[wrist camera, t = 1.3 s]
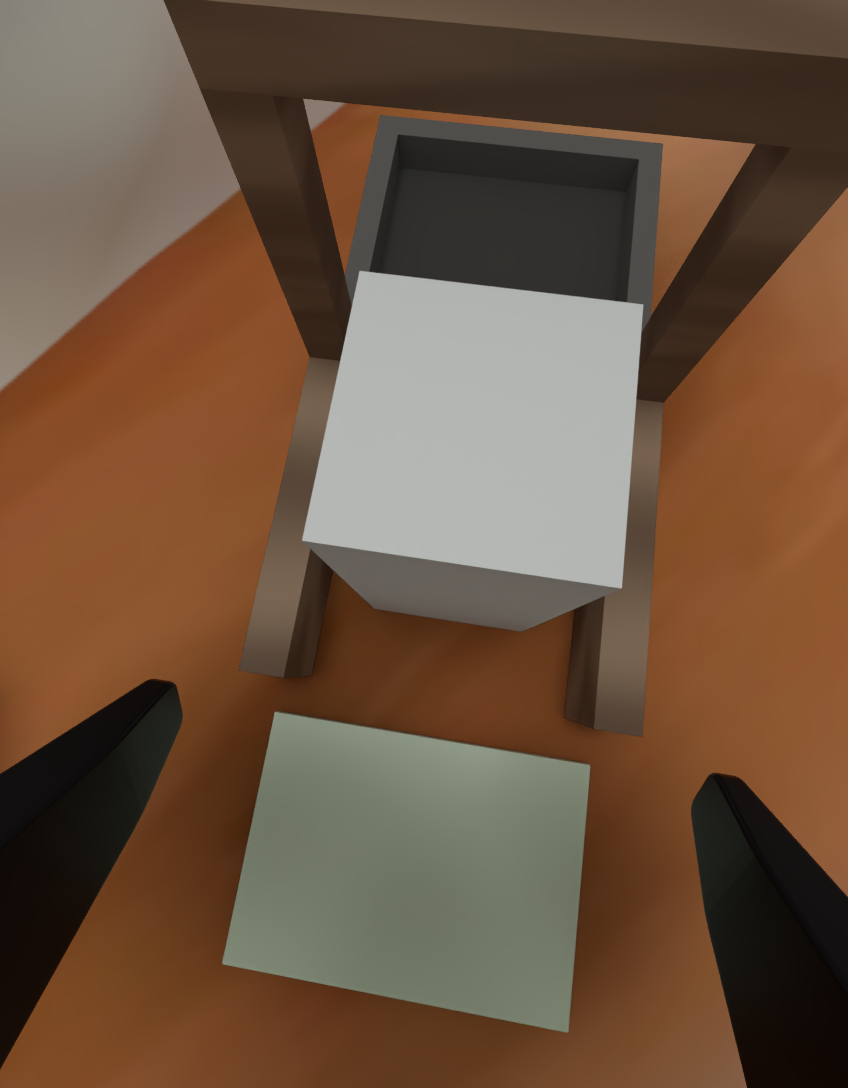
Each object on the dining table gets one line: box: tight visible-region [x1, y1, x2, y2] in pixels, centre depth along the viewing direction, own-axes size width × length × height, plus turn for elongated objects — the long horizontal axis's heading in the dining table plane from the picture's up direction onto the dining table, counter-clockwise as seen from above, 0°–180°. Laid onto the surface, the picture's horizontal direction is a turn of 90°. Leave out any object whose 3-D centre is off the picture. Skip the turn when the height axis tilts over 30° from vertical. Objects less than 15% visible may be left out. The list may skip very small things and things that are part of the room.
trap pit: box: [345, 115, 663, 332], centre depth 24 cm, size 11×13×2 cm
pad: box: [222, 711, 590, 1033], centre depth 19 cm, size 8×12×1 cm
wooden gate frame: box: [164, 0, 848, 737], centre depth 15 cm, size 13×13×15 cm
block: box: [302, 271, 643, 632], centre depth 16 cm, size 6×6×12 cm
